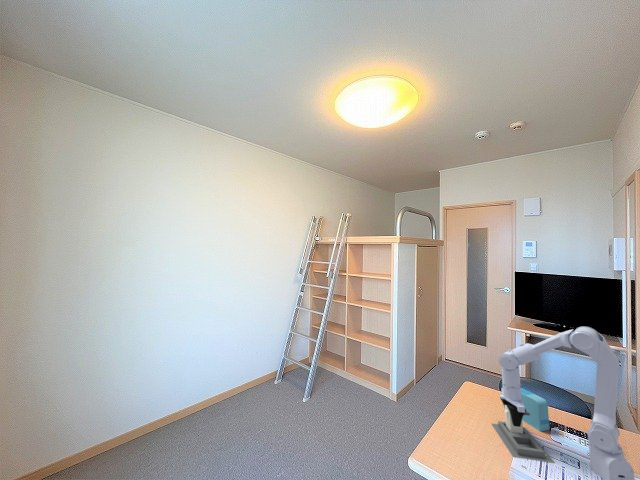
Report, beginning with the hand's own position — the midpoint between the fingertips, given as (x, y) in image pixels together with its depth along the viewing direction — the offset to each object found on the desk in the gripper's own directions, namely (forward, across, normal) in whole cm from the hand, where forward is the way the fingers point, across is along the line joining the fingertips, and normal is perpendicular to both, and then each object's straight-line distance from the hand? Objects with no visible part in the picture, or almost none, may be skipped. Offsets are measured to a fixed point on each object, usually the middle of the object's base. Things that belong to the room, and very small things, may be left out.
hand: (513, 422), depth 100 cm
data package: (+6, -10, +10) cm, 16 cm away
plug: (+3, 0, +1) cm, 3 cm away
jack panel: (+5, +4, 0) cm, 7 cm away
